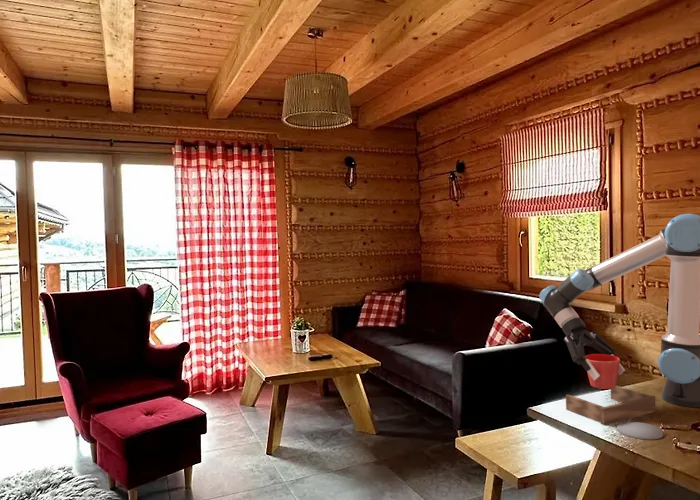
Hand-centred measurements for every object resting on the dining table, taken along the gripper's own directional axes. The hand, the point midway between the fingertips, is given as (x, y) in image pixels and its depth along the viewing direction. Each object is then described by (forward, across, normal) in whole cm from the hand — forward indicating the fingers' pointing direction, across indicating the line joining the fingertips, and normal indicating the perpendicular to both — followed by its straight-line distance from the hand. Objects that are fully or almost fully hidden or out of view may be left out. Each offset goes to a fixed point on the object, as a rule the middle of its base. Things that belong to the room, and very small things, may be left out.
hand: (609, 375), depth 168 cm
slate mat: (+20, +7, +2) cm, 21 cm away
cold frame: (+8, 0, -9) cm, 12 cm away
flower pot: (+1, 0, -5) cm, 5 cm away
